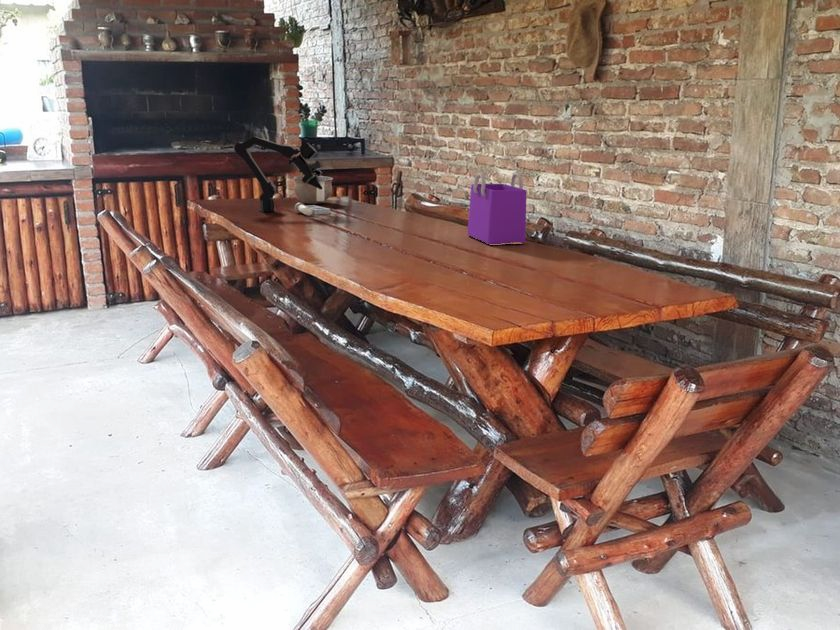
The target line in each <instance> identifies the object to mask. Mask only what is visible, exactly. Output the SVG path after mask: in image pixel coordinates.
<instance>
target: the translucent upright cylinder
mask: <svg viewBox="0 0 840 630" xmlns="http://www.w3.org/2000/svg"><path fill="white" fill-rule="evenodd" d="M326 177H327V176H326ZM326 177H324V175H321V176H317V180H318V182H319V183H320V185H321V186H322V189H319V188H317V201H324V183H325V181H326Z"/></svg>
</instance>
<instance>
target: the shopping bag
mask: <svg viewBox="0 0 840 630" xmlns="http://www.w3.org/2000/svg"><path fill="white" fill-rule="evenodd" d="M516 178H517V179H518V186H516V185H515V184H516V183H515V182H516ZM480 179H481V183H479V180H480ZM469 197H470V198H469V209H468V210H469V211H468V224H467V236H468V235H469V236H472V237H474V238H477V239H479V240H481V241H483V242H486V243H488V244H501V243H511V242H512V243H513V242H521V243H525V244H526V232H527V231H526V229H527V228H526V226H527V189H524V180H523V177H522V174H521V173H519V172H518V171H517V172H514V173H513V174H512V176H511V179H510V185H509V184H507V183H506V184H505V183H486V177H485V175H484V173H482V172H478V173H477V174H476V175H475V177H474V180H473V183H472V184H471V185H470V196H469ZM469 236H468V237H469Z"/></svg>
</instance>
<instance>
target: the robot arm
mask: <svg viewBox="0 0 840 630" xmlns="http://www.w3.org/2000/svg"><path fill="white" fill-rule="evenodd" d="M255 145H256V146H259V147H262V148H265V149H268V150H272V151H274V152H277V153H278V154H280V155H282V156H284V157H285V158H289V159H288V165H289V166H291V165H294V166H295V167H296V168H297V169H298V172H299V173H301V174H302V177H303V176H304V177H303V178H302V177H301V178H302V181H303V182H304V183H306V181H309V182H308V184H310V185H312V186H315V187H317V188H319V189H322V186H321V185H320V183H319V182H318V180H317V176H322V174H323V172H322V171H321V169H320V168H323V167H324V164H323V162H322V161H321V160H319V159H317V160H315V161H314V163H311V162H309V163H308V162H307V161H306V160H311V158H312V157H314V156H315V155H316V154H317V153H318V152H317V150H316V148H315V147H314V146H312V145H311V143H309V142H306V143H305V144H304V145H303V147H302V148H301V149H300V148H296V147H295V146H293V145H288V144H281V143H280V144H279V143H276V142H274V141H271V140H267V139H264V138H261V137H259V136H256V135H255V136H252V137H251V138H249V139H247V140H245V141H242V142H241V141H240V142H237V143H236V144H234V148H233V150H234V152H235V153H236V155H237V156H238V157H239V158H241V159H242V160H244V162H245V163H246V165H247V166H248V168H249V170H250V171H251V172H252V173H253V176H254V177H255V179H257V181H258V183H259V184H260V188H261V191H262V194H261V195H259V209H258V211H259V212H262V213H272V212H273V213H275V212H276V210H275V202H274V199H273V198H274V196H276V195H277V192H278V190H277V186H276V184H275V183H274V181H273V180H268V179H267V177H266V176H265V174H264V173H263V172H262V170H261V168H260V167H259V165H258V163H257V162H256V161H255V159H254V157H253V156H252V153H251V148H252V147H254V146H255ZM296 155H297V156H296ZM290 158H291V159H290ZM324 188H325V186H324Z"/></svg>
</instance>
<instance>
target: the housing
mask: <svg viewBox="0 0 840 630" xmlns="http://www.w3.org/2000/svg"><path fill="white" fill-rule="evenodd" d="M305 206H306V207H308V208H311V209H312V214H311V215H315V216H316V215H327V214H331V208H329V207H328V208H327V207H324V206H319V205H316V204H310V205H305Z"/></svg>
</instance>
